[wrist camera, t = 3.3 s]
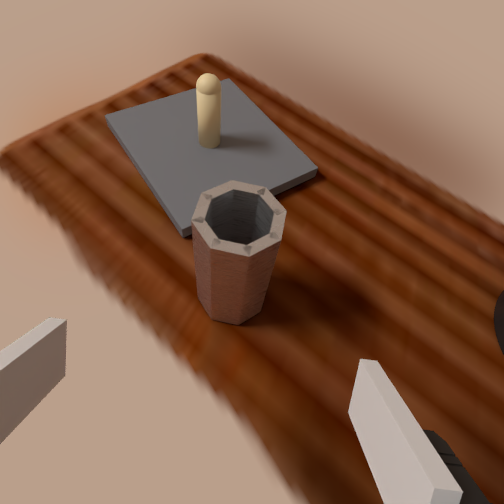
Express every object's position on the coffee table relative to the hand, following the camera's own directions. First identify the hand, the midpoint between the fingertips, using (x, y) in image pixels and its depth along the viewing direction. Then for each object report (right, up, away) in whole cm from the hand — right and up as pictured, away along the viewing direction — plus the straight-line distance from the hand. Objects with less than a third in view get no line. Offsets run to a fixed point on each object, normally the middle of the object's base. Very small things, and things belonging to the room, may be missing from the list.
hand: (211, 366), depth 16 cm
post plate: (-4, +18, +28) cm, 33 cm away
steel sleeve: (0, +1, +18) cm, 18 cm away
